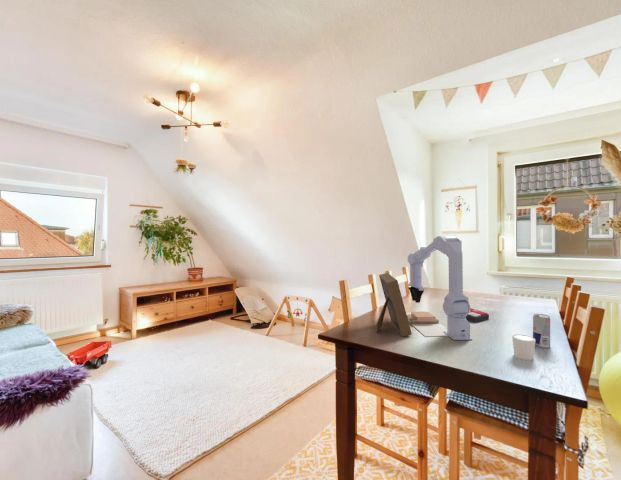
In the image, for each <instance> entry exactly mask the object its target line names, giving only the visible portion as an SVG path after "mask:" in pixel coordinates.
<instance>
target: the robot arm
mask: <svg viewBox="0 0 621 480" xmlns="http://www.w3.org/2000/svg"><path fill="white" fill-rule="evenodd" d="M462 242H463V241H462V240H461V239H460V238H459V237H458V236H457V235H452V236H451V235H448V236H447V235H446V236H445V235H444V236H441V235H438V236H436V237H435V238H433V240H432V242H431V243H430V244H428V245H426V246H421V247H420V248H419V249H418V250H416V251H415V252H414V253H409V254H408V255H407V262H408V264H409V283H408V284H407V285H408V290H409V292H410V296H411V300H412V301H414V302H415V303H418V304H419V303H420V302H421V300H422V295H423V293H424V291H425V290H424V286H423V283H422V282H423V281H422V279H423V278H422V275H423V274H422V273H423V272H422V271H423V270H422V269H423V266H424V265H423V264H424V263H425V260H427V259H428V258H430V257H431V255H432V253H434V252H435V251H439V252H440V253H442V254H443V255H445V256H446V257H448V293H447V294H446V295H445V296H444V298H443V299H444V300H443V303H442V310H443V313H444V314H445V315H446V316H447V317H446V318H447V319H446V322H447V325H446V326H447V327H446V328H447V331H444V333H445V334H447V335H448V336H447V337H449V338H450V339H452V340H453V341H463V340H464V341H465V340H466V341H468V340H469V341H470V340H473V338H472V336H471V325H470V324H471V323H470V321H468V320H466V316H467V313H469V311H470V308H471V305H470V302H469V297H468V296H466V295H465V294H464V291H463V289H464V286H463V285H464V283H463V281H464V280H463V279H464V277H463V272H464V271H463V267H464V266H463V265H464V264H463V251H462V245H463V243H462Z"/></svg>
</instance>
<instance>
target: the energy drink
mask: <svg viewBox="0 0 621 480" xmlns="http://www.w3.org/2000/svg"><path fill="white" fill-rule="evenodd" d="M532 337H533V338H534V339H535V340H536V341H535V347H538V348H540V349H541V348H542V349H549V348H550V347H551V318H550V315H548V314H542V313H534V314H533V316H532Z"/></svg>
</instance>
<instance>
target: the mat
mask: <svg viewBox="0 0 621 480" xmlns="http://www.w3.org/2000/svg"><path fill="white" fill-rule="evenodd" d="M411 326H412V327H413V328H414V329H416V330H417V331H418V332H419V333H420V334H421V335H422V336H424V337H425V338H433V337H436V338H437V337H438V338H439V337H449V336H448V335H447V334H445V333H444V331H447V327H446V326H444V325H443V324H441V323H439V324H411Z"/></svg>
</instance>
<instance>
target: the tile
mask: <svg viewBox="0 0 621 480" xmlns="http://www.w3.org/2000/svg"><path fill="white" fill-rule="evenodd" d="M410 312H411V317H413V318H414V319H415V320H416V321H435V318H436V316H435V315H434V314H432V313H430V312H429V311H410Z"/></svg>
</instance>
